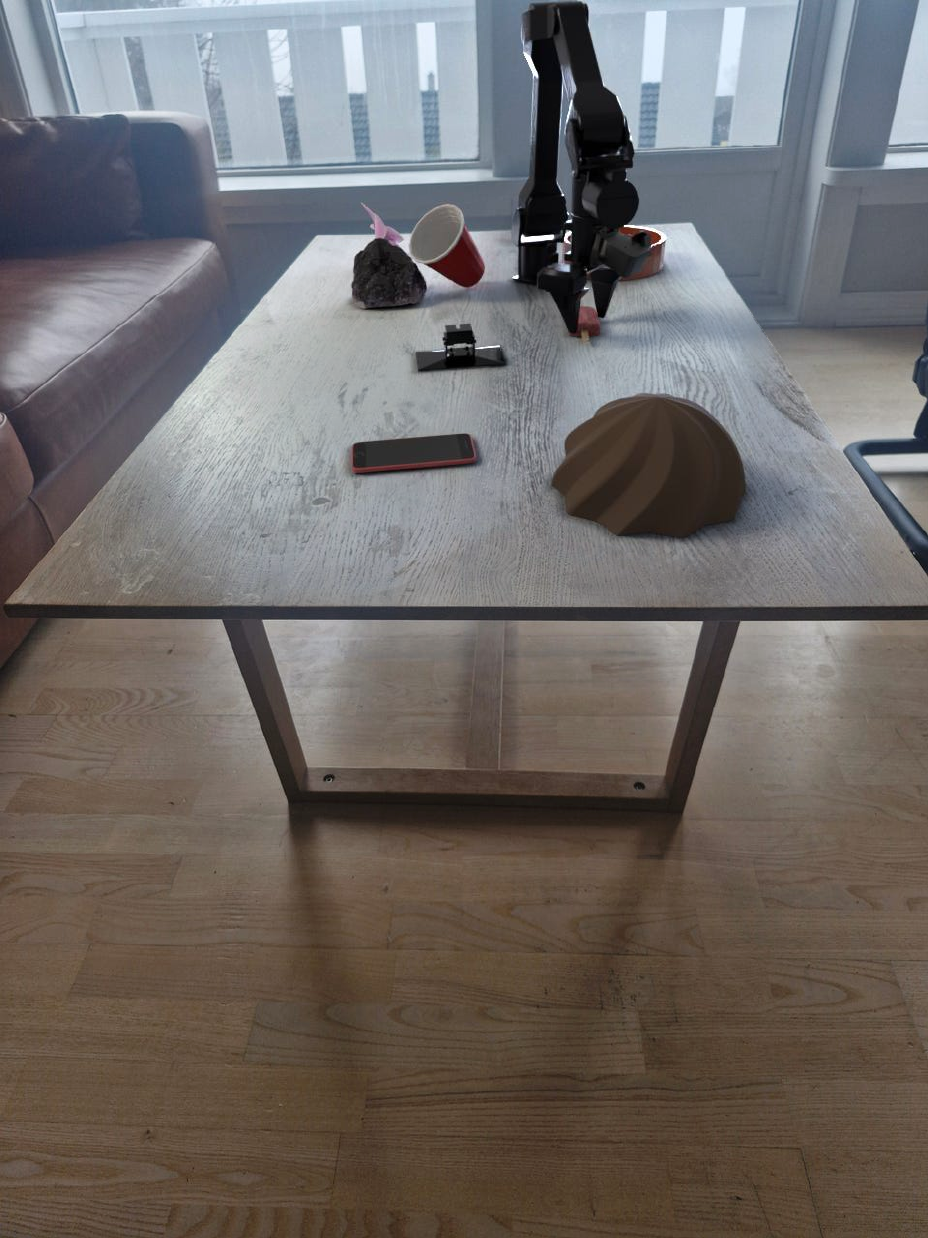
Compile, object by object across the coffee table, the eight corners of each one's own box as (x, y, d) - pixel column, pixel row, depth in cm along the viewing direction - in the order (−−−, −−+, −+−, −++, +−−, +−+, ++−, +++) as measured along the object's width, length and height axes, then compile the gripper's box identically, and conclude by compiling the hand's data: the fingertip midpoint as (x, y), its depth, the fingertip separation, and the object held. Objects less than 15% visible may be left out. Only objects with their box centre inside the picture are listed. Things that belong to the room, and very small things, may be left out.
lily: (403, 273, 153) (419, 221, 150) (344, 250, 151) (360, 197, 148) (401, 277, 164) (416, 229, 162) (346, 255, 162) (360, 206, 159)
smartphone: (351, 441, 92) (470, 431, 93) (352, 446, 93) (470, 436, 94) (350, 469, 87) (477, 458, 88) (351, 474, 87) (477, 463, 88)
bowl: (542, 270, 147) (543, 241, 144) (596, 248, 158) (598, 221, 155) (629, 286, 137) (631, 255, 134) (680, 261, 148) (684, 232, 145)
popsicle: (570, 335, 114) (567, 304, 126) (570, 347, 115) (566, 315, 127) (602, 334, 114) (596, 304, 126) (601, 347, 115) (595, 315, 127)
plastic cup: (496, 233, 139) (461, 189, 129) (499, 287, 136) (463, 247, 126) (444, 256, 144) (406, 216, 134) (446, 309, 142) (407, 272, 132)
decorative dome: (756, 543, 74) (778, 445, 68) (543, 531, 77) (545, 435, 71) (737, 449, 89) (754, 361, 82) (559, 442, 92) (562, 356, 86)
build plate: (499, 348, 117) (499, 316, 114) (506, 367, 111) (506, 333, 108) (415, 354, 116) (413, 321, 113) (418, 372, 110) (415, 339, 107)
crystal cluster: (408, 318, 131) (409, 253, 125) (333, 305, 134) (332, 242, 128) (436, 300, 141) (439, 239, 136) (366, 289, 144) (366, 229, 139)
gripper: (605, 234, 101) (599, 354, 111) (676, 204, 112) (665, 316, 122) (534, 225, 107) (534, 340, 117) (608, 197, 118) (602, 304, 128)
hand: (587, 325), depth 121 cm, fingers closed on popsicle, 8 cm apart
